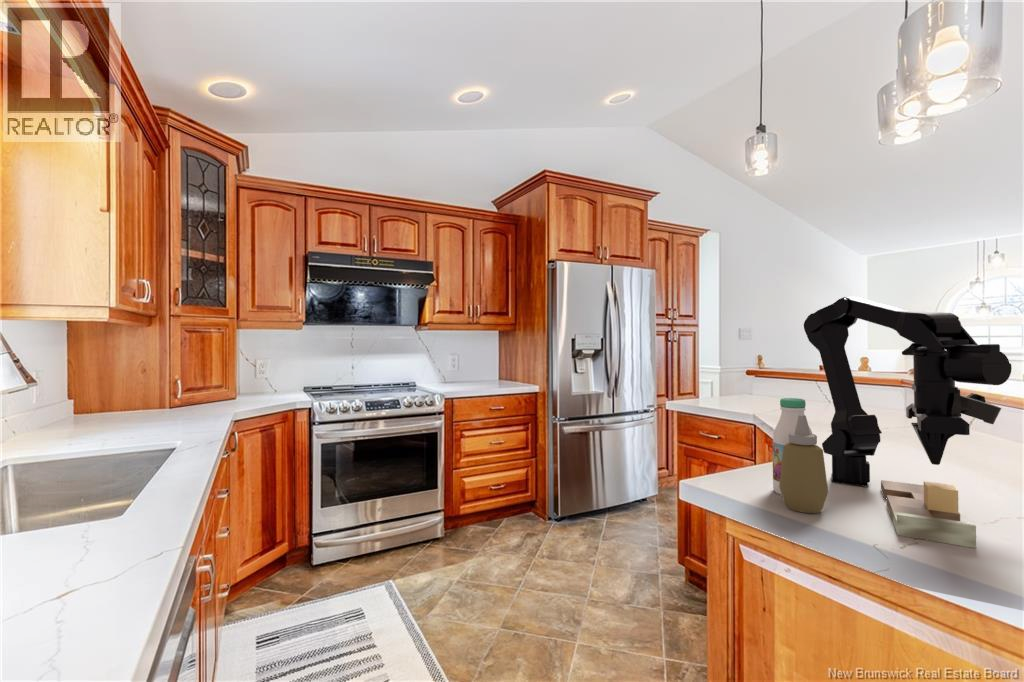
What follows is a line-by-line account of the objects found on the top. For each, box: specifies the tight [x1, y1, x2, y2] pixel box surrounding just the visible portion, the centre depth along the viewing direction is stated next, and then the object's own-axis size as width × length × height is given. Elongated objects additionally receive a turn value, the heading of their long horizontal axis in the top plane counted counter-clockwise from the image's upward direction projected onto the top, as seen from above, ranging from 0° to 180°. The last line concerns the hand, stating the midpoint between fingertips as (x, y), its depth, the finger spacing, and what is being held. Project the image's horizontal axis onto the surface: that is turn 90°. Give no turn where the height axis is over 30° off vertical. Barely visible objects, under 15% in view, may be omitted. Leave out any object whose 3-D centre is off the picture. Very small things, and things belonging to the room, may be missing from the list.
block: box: [923, 480, 959, 514], centre depth 84 cm, size 4×4×4 cm
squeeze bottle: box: [779, 414, 829, 514], centre depth 91 cm, size 8×8×18 cm
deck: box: [880, 479, 977, 549], centre depth 87 cm, size 10×27×3 cm, turn 146°
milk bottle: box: [772, 397, 813, 496], centre depth 99 cm, size 8×8×20 cm
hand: (935, 464), depth 87 cm, fingers closed
